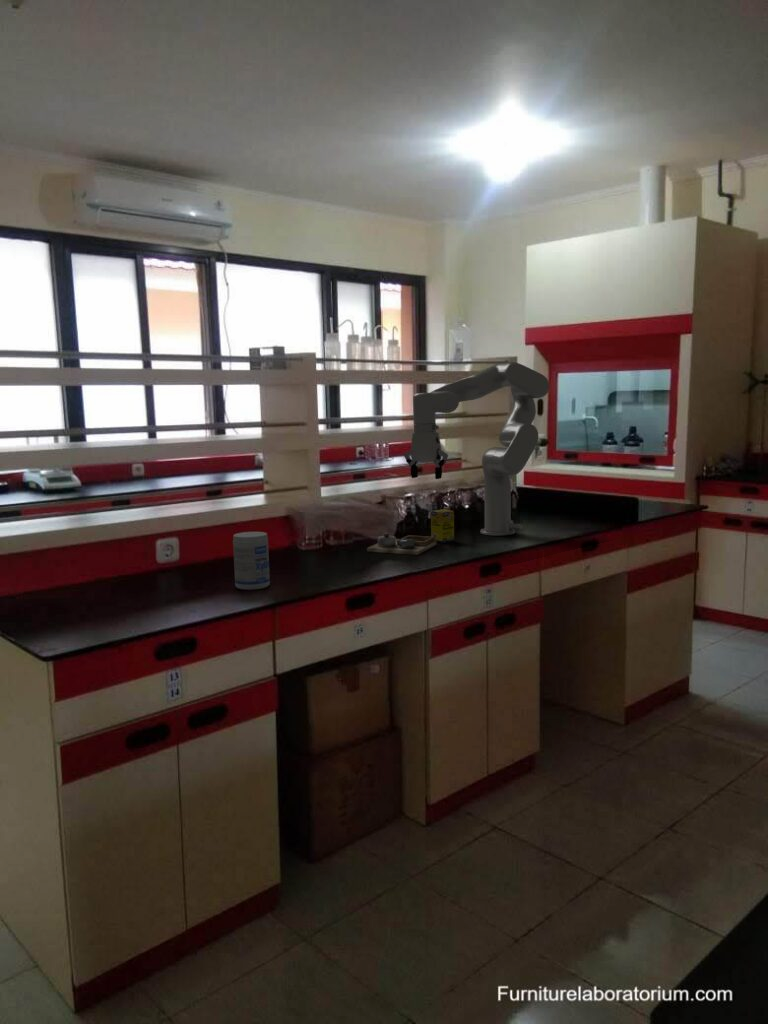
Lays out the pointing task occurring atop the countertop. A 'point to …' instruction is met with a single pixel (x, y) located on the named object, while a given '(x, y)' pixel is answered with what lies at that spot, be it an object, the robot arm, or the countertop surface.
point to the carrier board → (392, 544)
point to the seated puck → (406, 544)
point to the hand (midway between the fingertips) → (426, 478)
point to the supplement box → (442, 525)
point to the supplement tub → (251, 560)
